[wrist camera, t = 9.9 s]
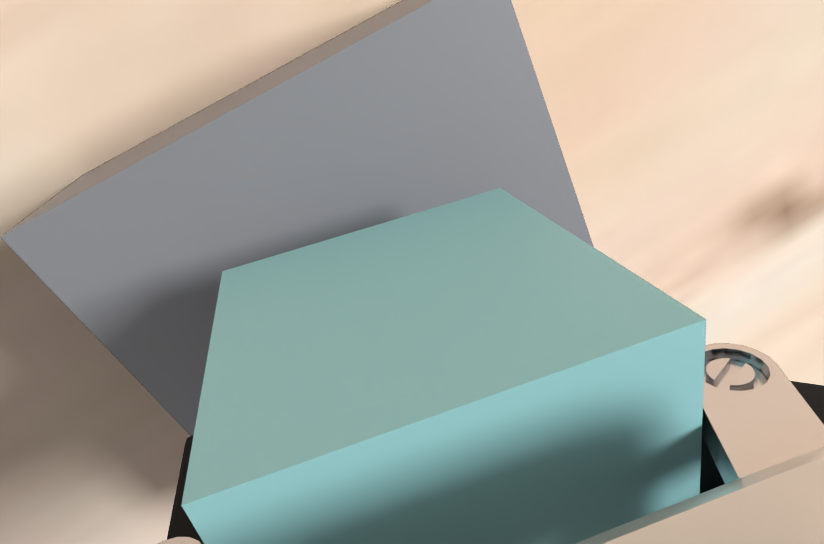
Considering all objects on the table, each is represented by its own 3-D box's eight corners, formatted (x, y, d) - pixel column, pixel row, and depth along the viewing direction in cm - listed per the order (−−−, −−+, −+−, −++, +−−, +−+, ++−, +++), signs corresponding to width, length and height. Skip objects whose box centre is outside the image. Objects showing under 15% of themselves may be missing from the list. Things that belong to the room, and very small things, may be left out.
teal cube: (222, 270, 11) (181, 505, 5) (500, 187, 11) (705, 319, 6) (311, 481, 13) (343, 777, 8) (532, 401, 14) (694, 622, 9)
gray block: (85, 172, 16) (0, 237, 11) (424, -12, 17) (499, -36, 11) (291, 425, 22) (299, 549, 17) (543, 282, 22) (631, 359, 17)
